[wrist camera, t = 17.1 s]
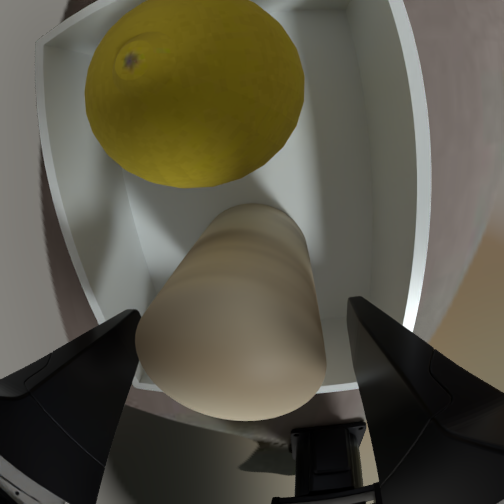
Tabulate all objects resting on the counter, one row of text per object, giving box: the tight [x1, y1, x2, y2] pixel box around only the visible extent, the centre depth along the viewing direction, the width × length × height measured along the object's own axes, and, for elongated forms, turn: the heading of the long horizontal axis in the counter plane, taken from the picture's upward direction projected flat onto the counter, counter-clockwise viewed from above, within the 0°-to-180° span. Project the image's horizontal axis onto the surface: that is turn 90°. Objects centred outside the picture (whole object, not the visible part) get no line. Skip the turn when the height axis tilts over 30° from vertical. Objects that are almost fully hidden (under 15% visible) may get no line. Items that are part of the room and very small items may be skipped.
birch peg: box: [135, 203, 327, 421], centre depth 10 cm, size 5×5×7 cm
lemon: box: [84, 0, 305, 188], centre depth 7 cm, size 6×6×8 cm
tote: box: [35, 0, 431, 394], centre depth 10 cm, size 16×12×5 cm
